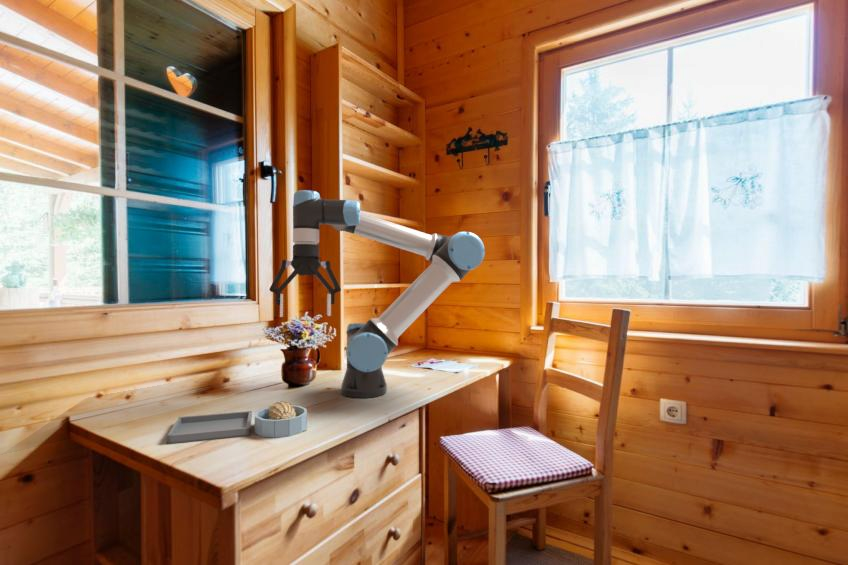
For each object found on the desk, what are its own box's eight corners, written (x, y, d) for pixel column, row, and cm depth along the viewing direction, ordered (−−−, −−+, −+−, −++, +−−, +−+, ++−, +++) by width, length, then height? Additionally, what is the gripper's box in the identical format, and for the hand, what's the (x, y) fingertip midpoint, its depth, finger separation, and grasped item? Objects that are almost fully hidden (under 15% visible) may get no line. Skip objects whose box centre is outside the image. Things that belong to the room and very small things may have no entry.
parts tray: (251, 417, 117) (251, 410, 117) (249, 435, 104) (249, 428, 104) (178, 424, 111) (178, 417, 111) (166, 444, 98) (166, 436, 98)
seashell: (256, 427, 109) (277, 430, 103) (256, 403, 110) (277, 404, 104) (284, 422, 115) (306, 424, 108) (283, 399, 116) (305, 399, 109)
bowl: (304, 418, 117) (304, 403, 117) (308, 434, 106) (308, 417, 105) (255, 422, 113) (255, 407, 113) (253, 439, 101) (254, 422, 101)
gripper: (346, 246, 136) (345, 314, 136) (261, 243, 127) (260, 315, 127) (350, 244, 129) (349, 316, 129) (260, 241, 120) (260, 318, 120)
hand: (305, 316), depth 128 cm, fingers open, 13 cm apart
